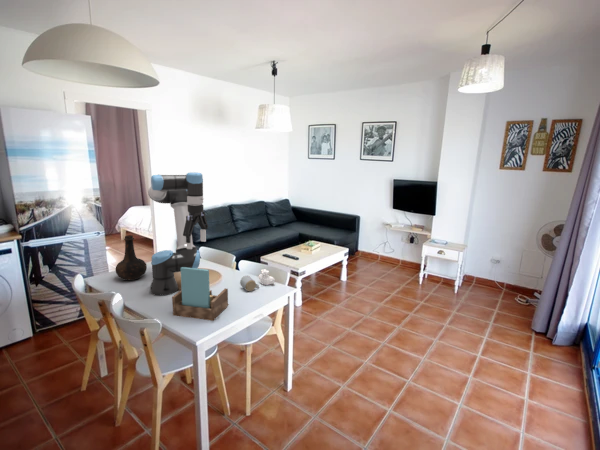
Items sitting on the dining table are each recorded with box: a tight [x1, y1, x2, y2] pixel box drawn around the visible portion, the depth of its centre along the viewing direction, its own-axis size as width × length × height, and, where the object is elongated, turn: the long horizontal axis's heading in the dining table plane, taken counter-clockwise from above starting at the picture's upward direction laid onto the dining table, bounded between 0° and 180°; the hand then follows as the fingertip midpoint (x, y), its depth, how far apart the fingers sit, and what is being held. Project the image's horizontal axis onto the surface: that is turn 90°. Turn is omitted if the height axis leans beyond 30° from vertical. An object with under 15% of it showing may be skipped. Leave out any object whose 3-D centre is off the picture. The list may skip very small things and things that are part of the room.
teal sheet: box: [180, 267, 211, 309], centre depth 154 cm, size 14×2×24 cm, turn 79°
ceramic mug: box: [239, 275, 260, 292], centre depth 192 cm, size 11×8×8 cm
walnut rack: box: [171, 288, 230, 322], centre depth 161 cm, size 22×18×11 cm
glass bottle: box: [115, 234, 148, 281], centre depth 200 cm, size 18×18×28 cm
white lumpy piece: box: [257, 268, 276, 286], centre depth 199 cm, size 12×8×11 cm
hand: (196, 245), depth 161 cm, fingers open, 13 cm apart
